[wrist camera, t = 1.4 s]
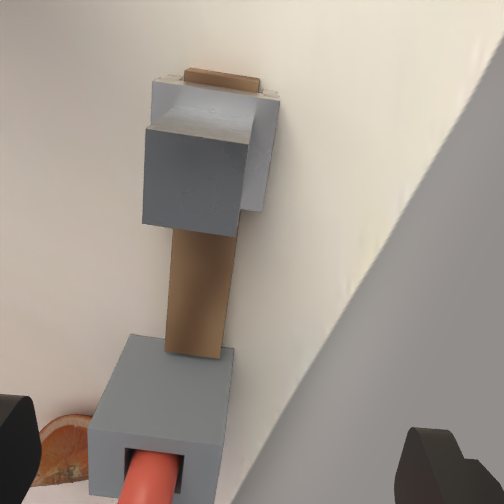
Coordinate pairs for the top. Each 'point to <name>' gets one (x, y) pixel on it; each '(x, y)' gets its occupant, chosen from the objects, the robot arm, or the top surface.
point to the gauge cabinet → (161, 418)
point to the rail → (201, 265)
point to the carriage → (206, 155)
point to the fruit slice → (64, 451)
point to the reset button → (150, 478)
